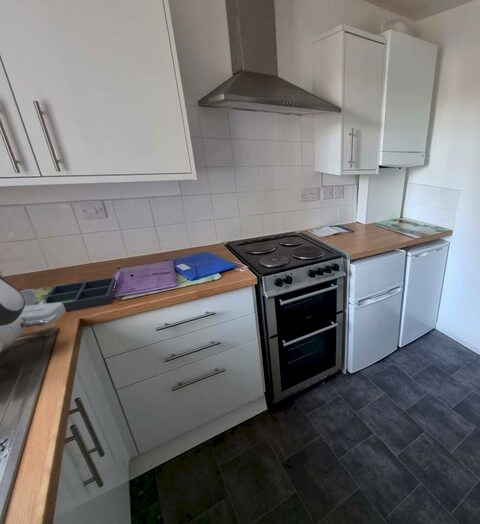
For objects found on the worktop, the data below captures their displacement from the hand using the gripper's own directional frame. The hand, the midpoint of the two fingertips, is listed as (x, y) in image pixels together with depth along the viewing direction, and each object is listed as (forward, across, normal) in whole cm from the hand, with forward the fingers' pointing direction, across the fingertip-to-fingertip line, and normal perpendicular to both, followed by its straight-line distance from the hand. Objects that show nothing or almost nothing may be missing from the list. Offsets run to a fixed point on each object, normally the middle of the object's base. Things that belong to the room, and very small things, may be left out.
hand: (33, 303), depth 90 cm
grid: (+24, 0, +11) cm, 27 cm away
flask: (-1, 0, +6) cm, 6 cm away
